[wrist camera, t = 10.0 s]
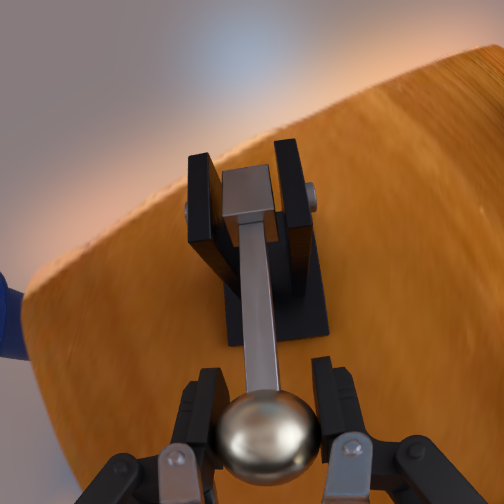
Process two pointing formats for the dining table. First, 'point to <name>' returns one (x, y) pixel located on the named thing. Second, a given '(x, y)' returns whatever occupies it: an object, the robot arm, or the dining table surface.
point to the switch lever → (260, 351)
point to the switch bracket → (279, 252)
